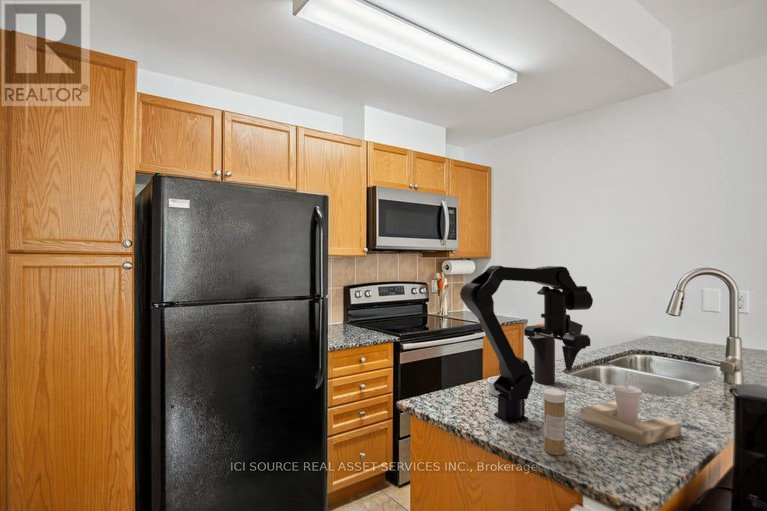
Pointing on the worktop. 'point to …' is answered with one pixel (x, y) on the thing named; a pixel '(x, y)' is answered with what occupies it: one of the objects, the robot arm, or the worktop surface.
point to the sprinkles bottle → (554, 421)
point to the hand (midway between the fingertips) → (555, 366)
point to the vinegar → (545, 364)
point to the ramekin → (491, 386)
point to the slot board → (630, 424)
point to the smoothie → (627, 401)
